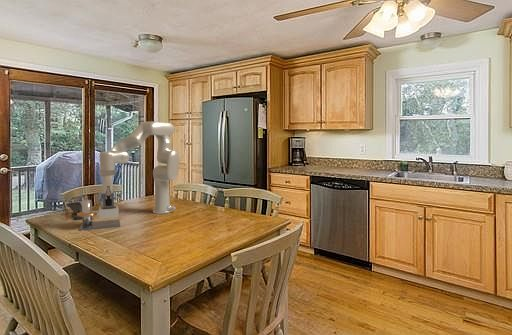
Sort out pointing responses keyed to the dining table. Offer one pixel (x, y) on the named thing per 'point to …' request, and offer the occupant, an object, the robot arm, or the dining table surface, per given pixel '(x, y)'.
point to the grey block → (105, 201)
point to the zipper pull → (76, 210)
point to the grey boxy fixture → (102, 213)
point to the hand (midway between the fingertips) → (108, 204)
